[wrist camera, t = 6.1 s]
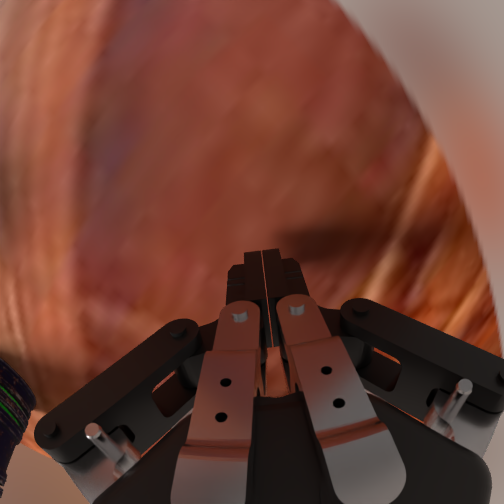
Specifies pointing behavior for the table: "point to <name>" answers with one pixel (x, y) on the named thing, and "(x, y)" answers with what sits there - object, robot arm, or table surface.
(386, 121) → the table surface
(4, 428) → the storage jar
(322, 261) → the table surface
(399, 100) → the table surface
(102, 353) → the table surface
